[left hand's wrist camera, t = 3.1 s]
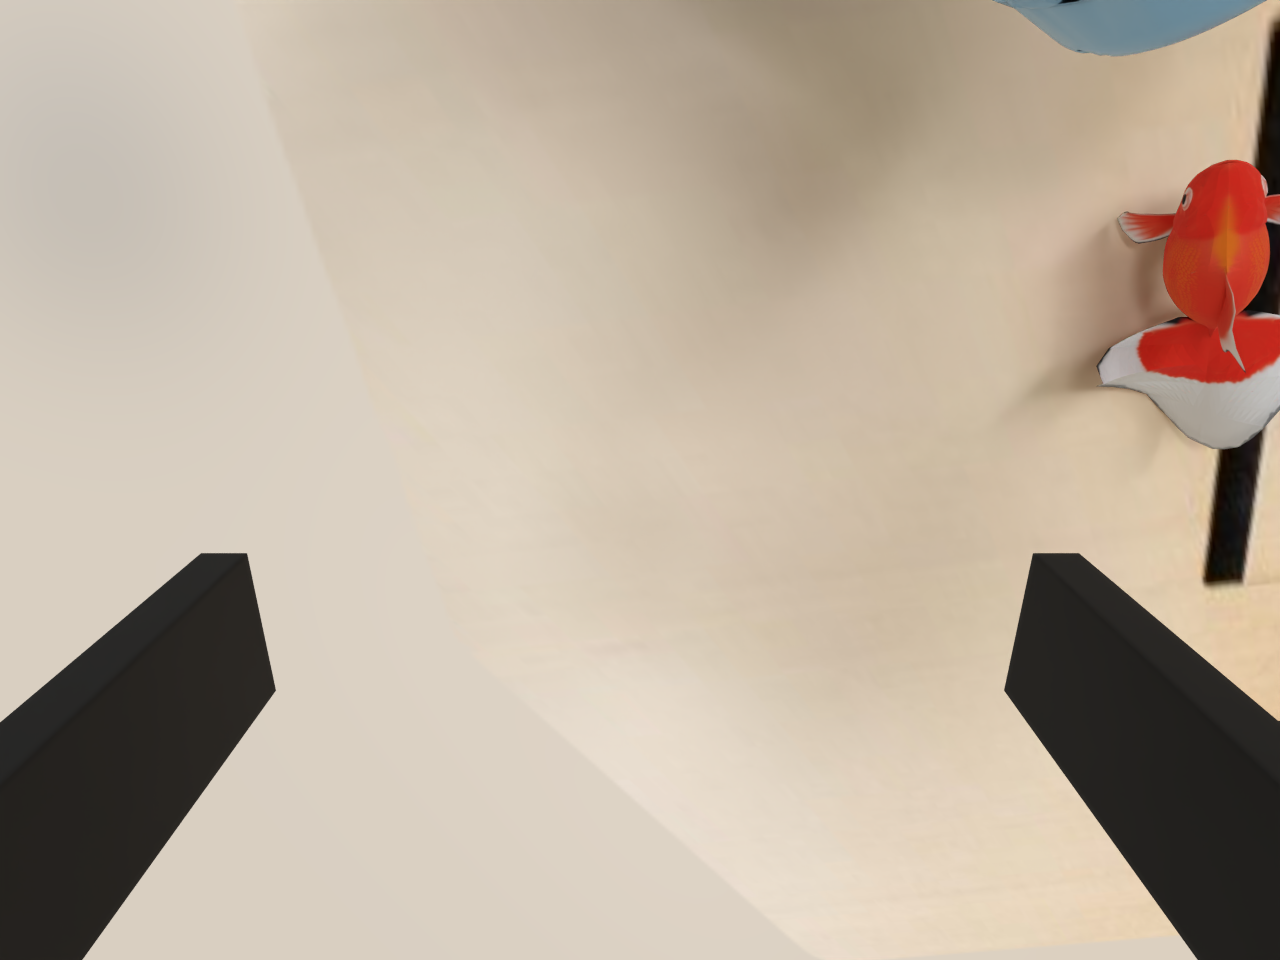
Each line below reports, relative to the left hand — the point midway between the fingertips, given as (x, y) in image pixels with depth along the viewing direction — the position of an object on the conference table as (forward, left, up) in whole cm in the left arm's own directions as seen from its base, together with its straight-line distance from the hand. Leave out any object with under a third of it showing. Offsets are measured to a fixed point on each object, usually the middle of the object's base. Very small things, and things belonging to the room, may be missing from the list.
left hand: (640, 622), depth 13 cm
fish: (+26, +14, -32) cm, 43 cm away
